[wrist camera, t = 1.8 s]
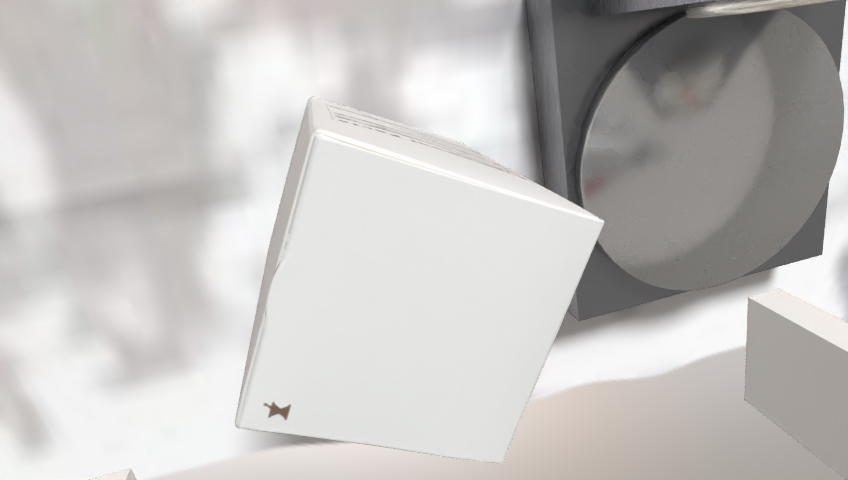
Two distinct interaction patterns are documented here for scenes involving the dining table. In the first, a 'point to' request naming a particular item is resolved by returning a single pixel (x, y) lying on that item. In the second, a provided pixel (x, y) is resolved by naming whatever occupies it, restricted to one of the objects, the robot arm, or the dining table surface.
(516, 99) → the dining table surface
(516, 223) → the supplement box
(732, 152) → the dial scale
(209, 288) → the dining table surface
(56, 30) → the dining table surface
